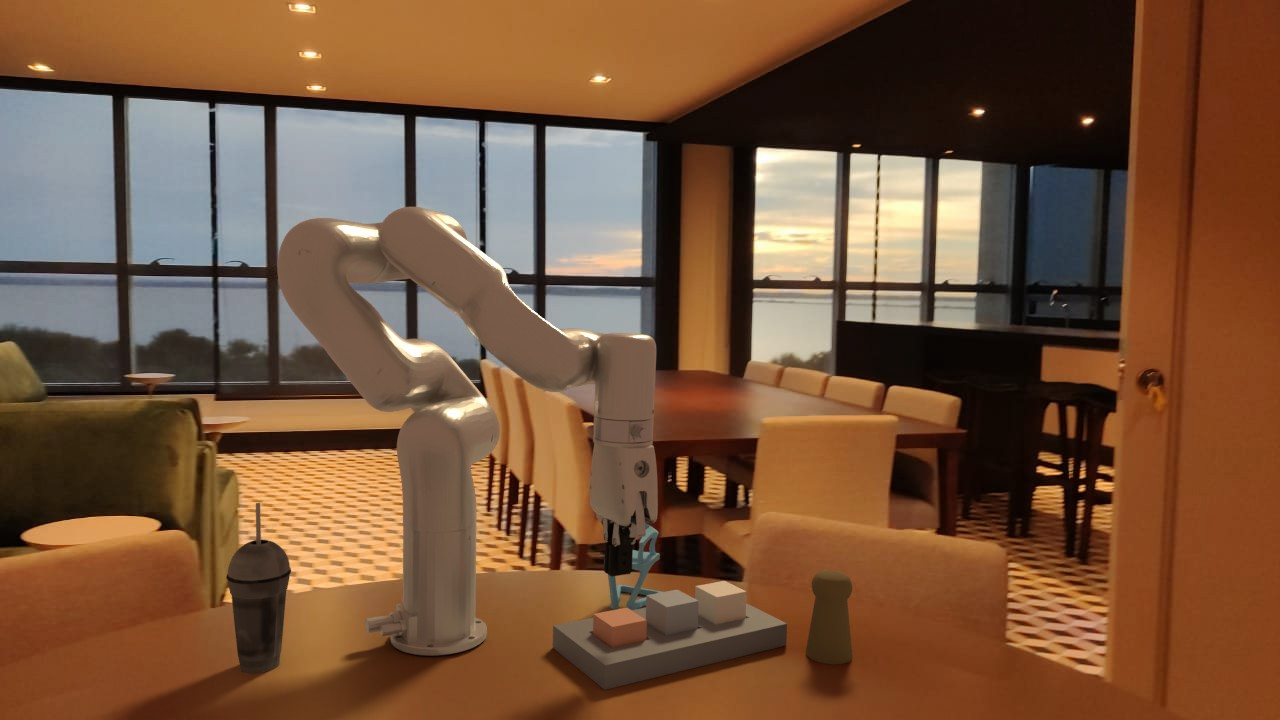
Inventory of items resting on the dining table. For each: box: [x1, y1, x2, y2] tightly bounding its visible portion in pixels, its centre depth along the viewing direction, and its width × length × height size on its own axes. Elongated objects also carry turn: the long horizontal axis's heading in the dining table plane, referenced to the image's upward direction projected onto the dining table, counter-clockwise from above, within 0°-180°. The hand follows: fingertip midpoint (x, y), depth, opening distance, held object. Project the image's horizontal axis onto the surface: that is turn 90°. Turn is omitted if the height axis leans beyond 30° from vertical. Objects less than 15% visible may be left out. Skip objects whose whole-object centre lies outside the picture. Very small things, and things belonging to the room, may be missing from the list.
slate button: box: [645, 589, 699, 636], centre depth 116 cm, size 5×5×4 cm
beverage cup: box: [226, 502, 292, 674], centre depth 107 cm, size 7×7×20 cm
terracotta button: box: [592, 607, 647, 648], centre depth 112 cm, size 5×5×4 cm
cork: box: [805, 569, 853, 665], centre depth 115 cm, size 6×6×11 cm
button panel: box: [552, 597, 788, 691], centre depth 116 cm, size 28×14×3 cm, turn 122°
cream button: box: [694, 580, 748, 625], centre depth 120 cm, size 5×5×4 cm
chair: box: [607, 522, 662, 610], centre depth 132 cm, size 8×8×12 cm
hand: (617, 573), depth 112 cm, fingers closed
